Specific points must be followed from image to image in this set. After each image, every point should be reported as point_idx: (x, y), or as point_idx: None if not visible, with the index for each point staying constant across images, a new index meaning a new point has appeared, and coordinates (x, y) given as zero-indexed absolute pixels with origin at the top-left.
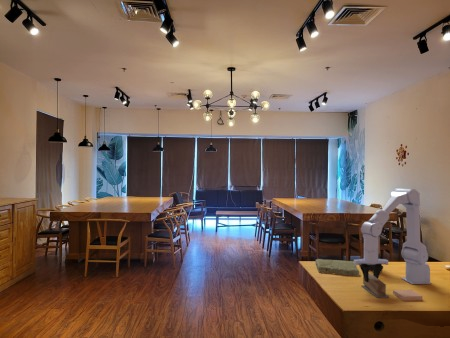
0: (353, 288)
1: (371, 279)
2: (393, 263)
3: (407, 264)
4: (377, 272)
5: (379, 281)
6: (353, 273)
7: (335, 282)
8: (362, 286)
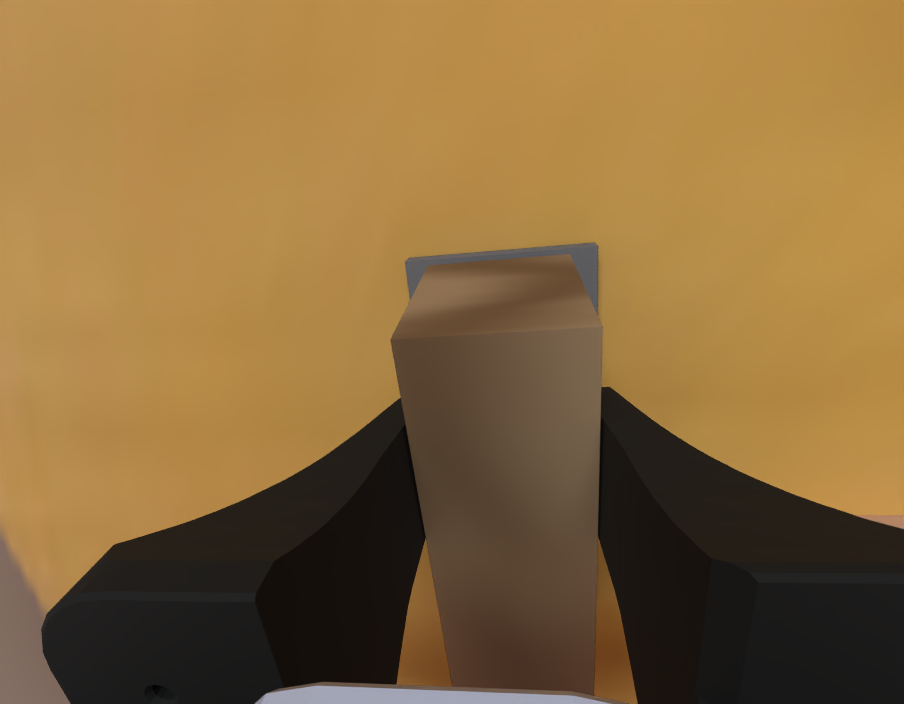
0: (269, 342)
1: (449, 604)
2: None
3: None
4: (634, 670)
5: (553, 669)
6: None
7: (21, 71)
8: (410, 293)
